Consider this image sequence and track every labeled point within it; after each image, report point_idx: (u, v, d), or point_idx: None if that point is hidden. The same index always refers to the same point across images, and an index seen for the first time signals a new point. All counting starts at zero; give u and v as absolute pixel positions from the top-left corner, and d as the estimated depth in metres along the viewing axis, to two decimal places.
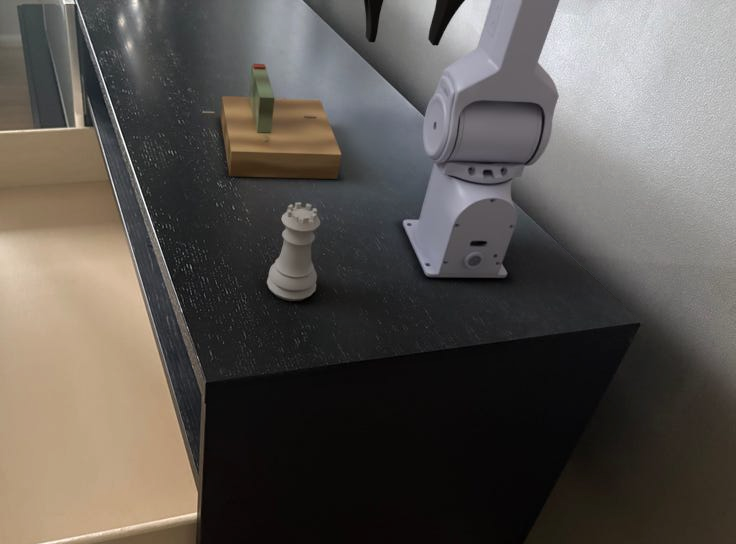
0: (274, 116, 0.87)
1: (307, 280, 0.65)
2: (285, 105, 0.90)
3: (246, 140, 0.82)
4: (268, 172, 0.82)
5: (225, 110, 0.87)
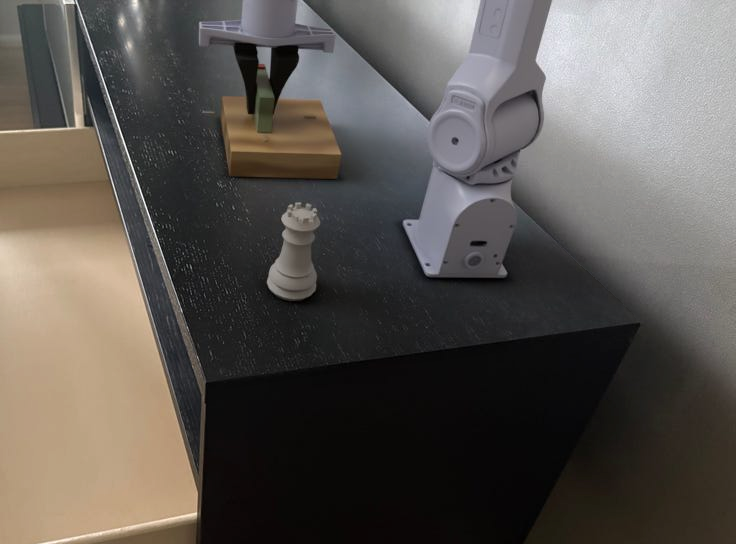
0: (274, 116, 0.87)
1: (307, 280, 0.65)
2: (285, 105, 0.90)
3: (246, 140, 0.82)
4: (268, 172, 0.82)
5: (225, 110, 0.87)
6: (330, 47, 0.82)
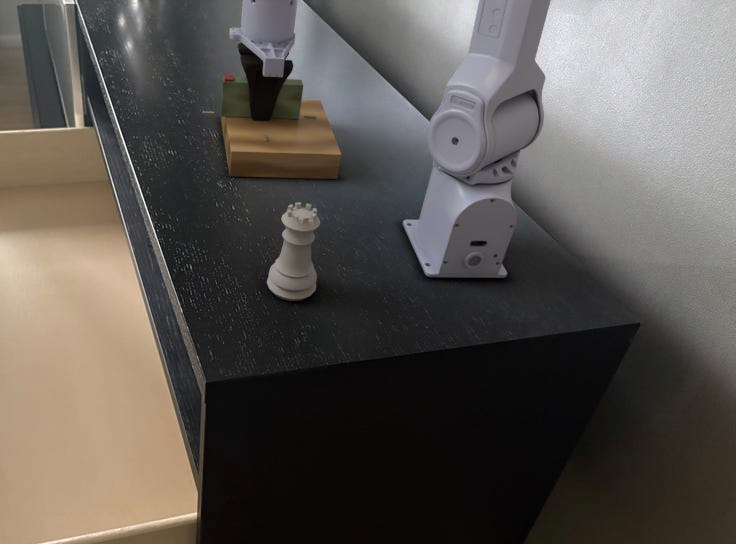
0: None
1: (307, 280, 0.65)
2: None
3: (246, 140, 0.82)
4: (268, 172, 0.82)
5: None
6: None
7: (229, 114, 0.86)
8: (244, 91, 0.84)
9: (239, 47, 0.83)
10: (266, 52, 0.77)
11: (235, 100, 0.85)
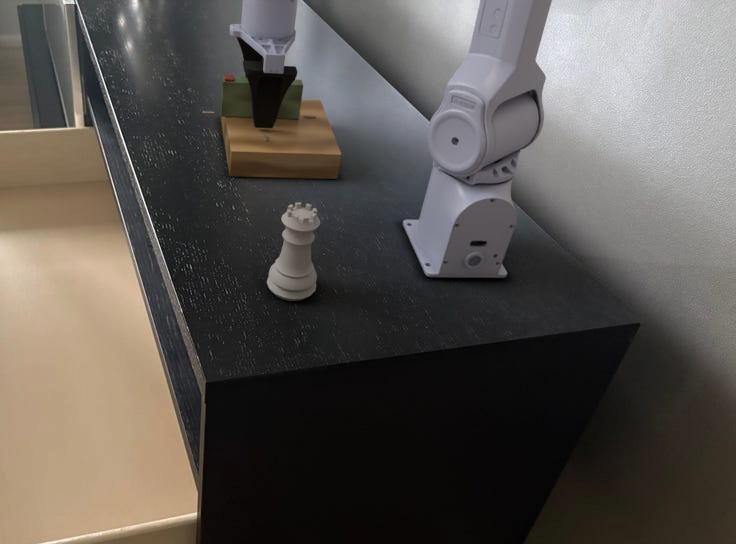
0: None
1: (307, 280, 0.65)
2: None
3: (246, 140, 0.82)
4: (268, 172, 0.82)
5: None
6: None
7: (229, 114, 0.86)
8: (244, 91, 0.84)
9: None
10: (266, 48, 0.77)
11: (235, 100, 0.85)
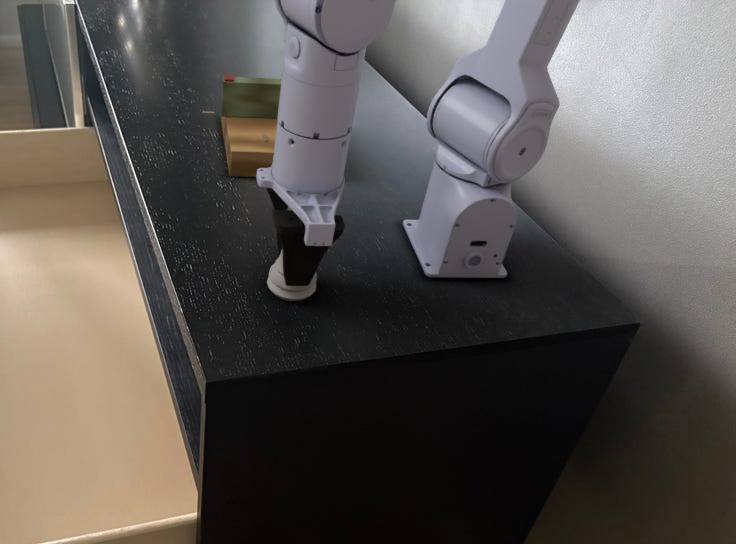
0: None
1: None
2: None
3: (246, 140, 0.82)
4: None
5: None
6: None
7: (229, 114, 0.86)
8: (244, 91, 0.84)
9: None
10: (309, 210, 0.57)
11: (235, 100, 0.85)
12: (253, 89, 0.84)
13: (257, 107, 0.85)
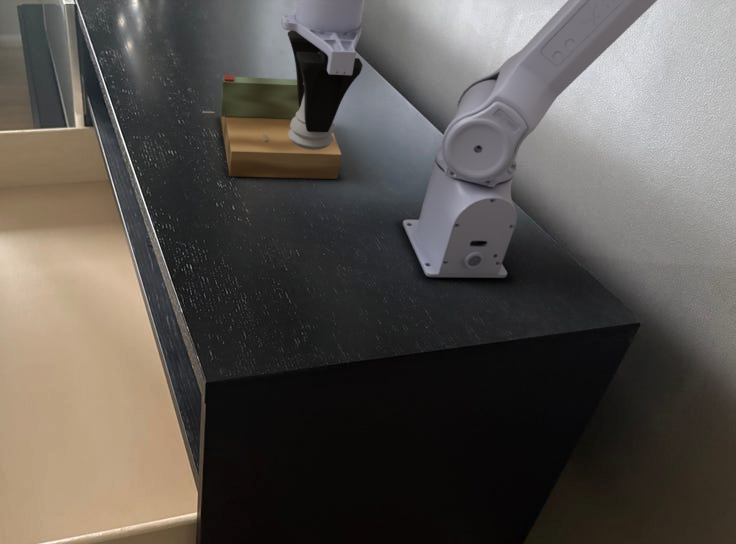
0: None
1: None
2: None
3: (246, 140, 0.82)
4: (268, 172, 0.82)
5: None
6: None
7: (229, 114, 0.86)
8: (244, 91, 0.84)
9: (290, 35, 0.69)
10: (331, 44, 0.63)
11: (235, 100, 0.85)
12: (253, 89, 0.84)
13: (257, 107, 0.85)
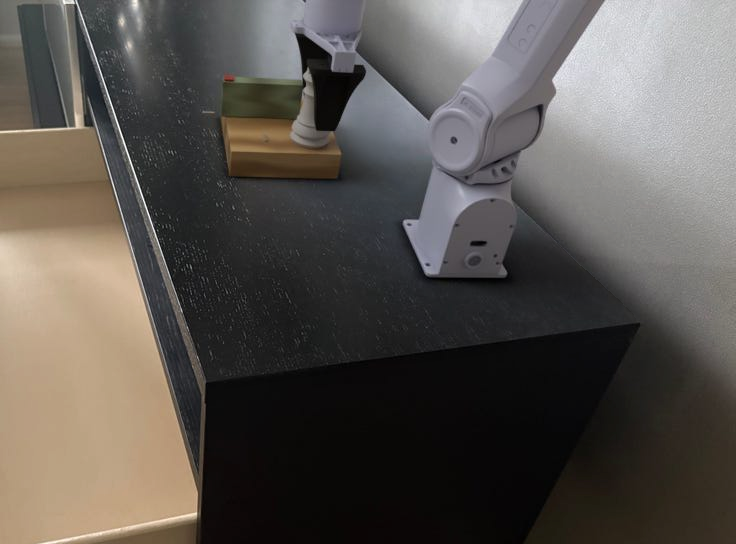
0: None
1: None
2: None
3: (246, 140, 0.82)
4: (268, 172, 0.82)
5: None
6: None
7: (229, 114, 0.86)
8: (244, 91, 0.84)
9: None
10: (334, 45, 0.71)
11: (235, 100, 0.85)
12: (253, 89, 0.84)
13: (257, 107, 0.85)
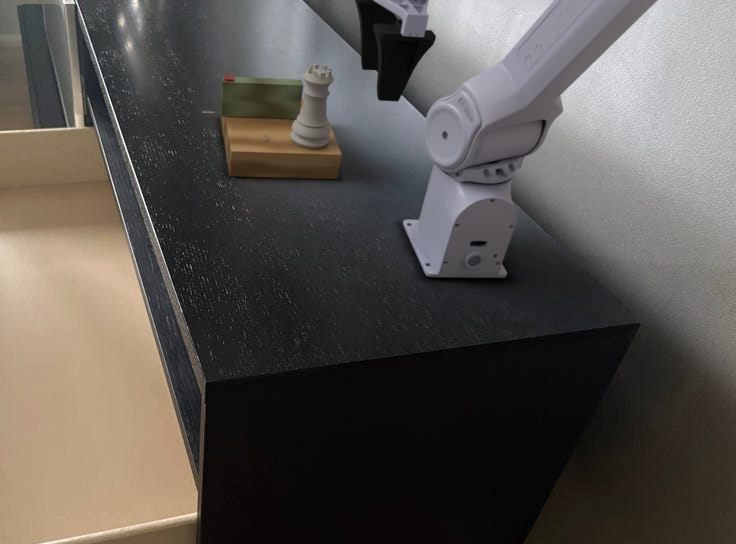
0: None
1: (323, 130, 0.81)
2: None
3: (246, 140, 0.82)
4: (268, 172, 0.82)
5: None
6: None
7: (229, 114, 0.86)
8: (244, 91, 0.84)
9: None
10: (404, 9, 0.68)
11: (235, 100, 0.85)
12: (253, 89, 0.84)
13: (257, 107, 0.85)
